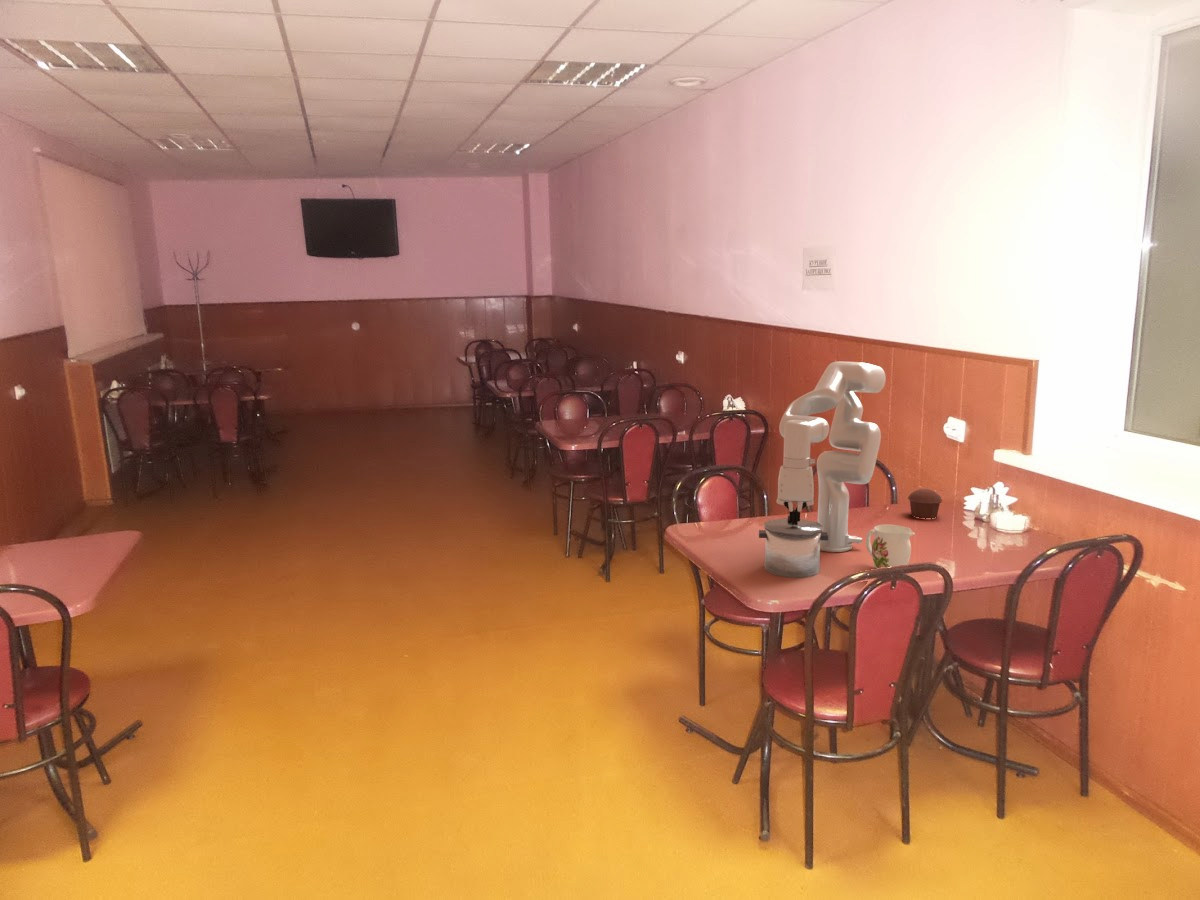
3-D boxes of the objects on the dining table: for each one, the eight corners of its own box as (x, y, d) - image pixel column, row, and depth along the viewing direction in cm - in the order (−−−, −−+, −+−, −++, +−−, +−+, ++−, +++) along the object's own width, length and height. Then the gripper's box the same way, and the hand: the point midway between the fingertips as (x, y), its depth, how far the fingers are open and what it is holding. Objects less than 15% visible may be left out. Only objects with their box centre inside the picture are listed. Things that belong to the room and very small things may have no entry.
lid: (763, 520, 266) (763, 512, 266) (819, 523, 264) (820, 514, 263) (765, 534, 249) (765, 524, 249) (825, 536, 246) (825, 526, 246)
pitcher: (878, 559, 267) (881, 516, 264) (924, 576, 251) (927, 531, 248) (851, 565, 262) (854, 521, 259) (896, 583, 246) (899, 536, 243)
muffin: (941, 514, 318) (943, 488, 316) (941, 522, 308) (943, 494, 306) (907, 511, 322) (908, 485, 320) (906, 519, 312) (907, 492, 310)
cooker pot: (823, 560, 266) (824, 523, 264) (828, 579, 250) (830, 539, 247) (757, 557, 269) (758, 520, 267) (758, 576, 253) (759, 536, 250)
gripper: (821, 460, 252) (819, 520, 256) (769, 459, 254) (768, 519, 258) (824, 466, 245) (821, 528, 248) (770, 465, 247) (769, 526, 251)
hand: (794, 523), depth 253 cm, fingers closed
